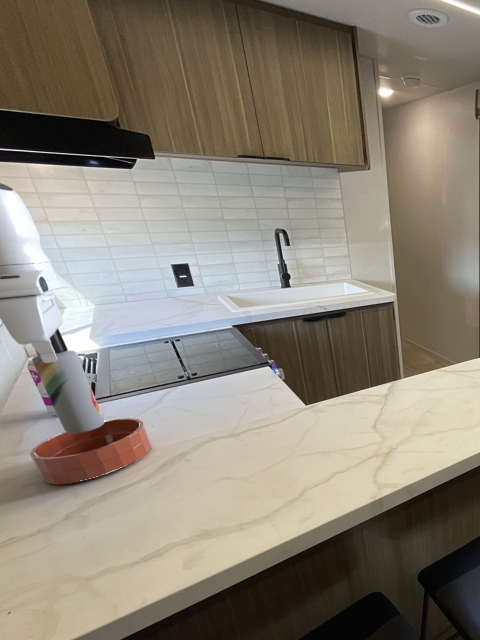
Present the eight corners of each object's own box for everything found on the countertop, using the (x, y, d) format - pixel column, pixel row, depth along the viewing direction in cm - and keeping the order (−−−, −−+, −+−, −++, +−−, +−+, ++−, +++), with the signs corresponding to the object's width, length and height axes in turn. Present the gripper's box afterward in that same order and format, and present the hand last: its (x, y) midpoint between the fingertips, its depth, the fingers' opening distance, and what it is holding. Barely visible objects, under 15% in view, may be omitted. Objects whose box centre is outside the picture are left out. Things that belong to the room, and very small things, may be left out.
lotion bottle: (101, 418, 83) (61, 324, 76) (109, 425, 80) (68, 327, 73) (62, 429, 79) (16, 330, 72) (69, 437, 76) (21, 334, 69)
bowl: (37, 498, 71) (21, 469, 69) (51, 461, 83) (38, 435, 81) (153, 463, 81) (142, 437, 79) (151, 434, 93) (142, 411, 91)
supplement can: (50, 419, 102) (24, 364, 97) (49, 410, 107) (24, 357, 102) (94, 408, 108) (71, 355, 102) (91, 400, 113) (69, 350, 108)
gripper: (7, 278, 75) (39, 349, 80) (-25, 289, 60) (17, 375, 65) (55, 275, 79) (83, 343, 83) (36, 284, 64) (71, 366, 69)
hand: (54, 357), depth 74 cm, fingers closed on lotion bottle, 5 cm apart
